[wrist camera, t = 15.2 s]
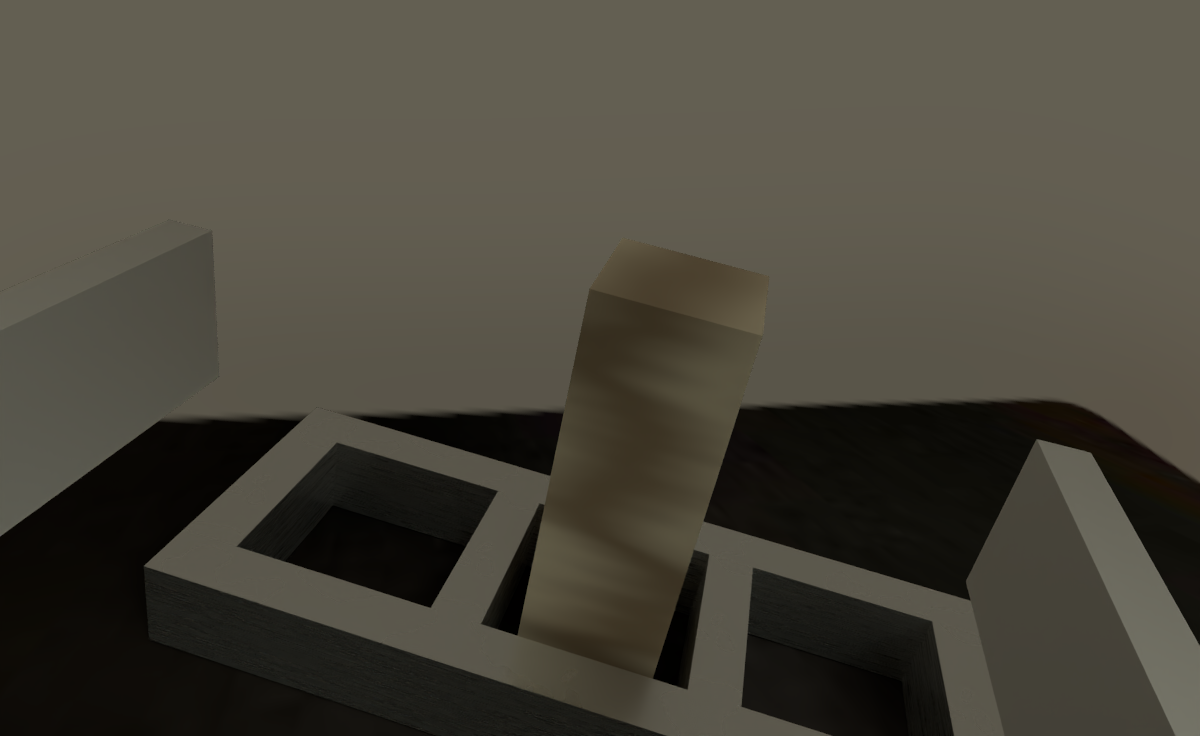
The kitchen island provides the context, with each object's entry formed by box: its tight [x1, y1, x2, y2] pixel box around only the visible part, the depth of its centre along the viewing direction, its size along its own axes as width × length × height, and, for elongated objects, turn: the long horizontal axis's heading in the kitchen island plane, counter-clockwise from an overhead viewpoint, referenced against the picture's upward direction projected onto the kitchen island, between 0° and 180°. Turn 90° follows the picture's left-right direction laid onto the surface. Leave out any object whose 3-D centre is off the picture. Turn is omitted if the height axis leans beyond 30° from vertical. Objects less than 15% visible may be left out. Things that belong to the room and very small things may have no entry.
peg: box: [518, 238, 769, 679], centre depth 26 cm, size 4×4×14 cm
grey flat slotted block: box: [144, 407, 1005, 736], centre depth 29 cm, size 26×10×3 cm, turn 78°
